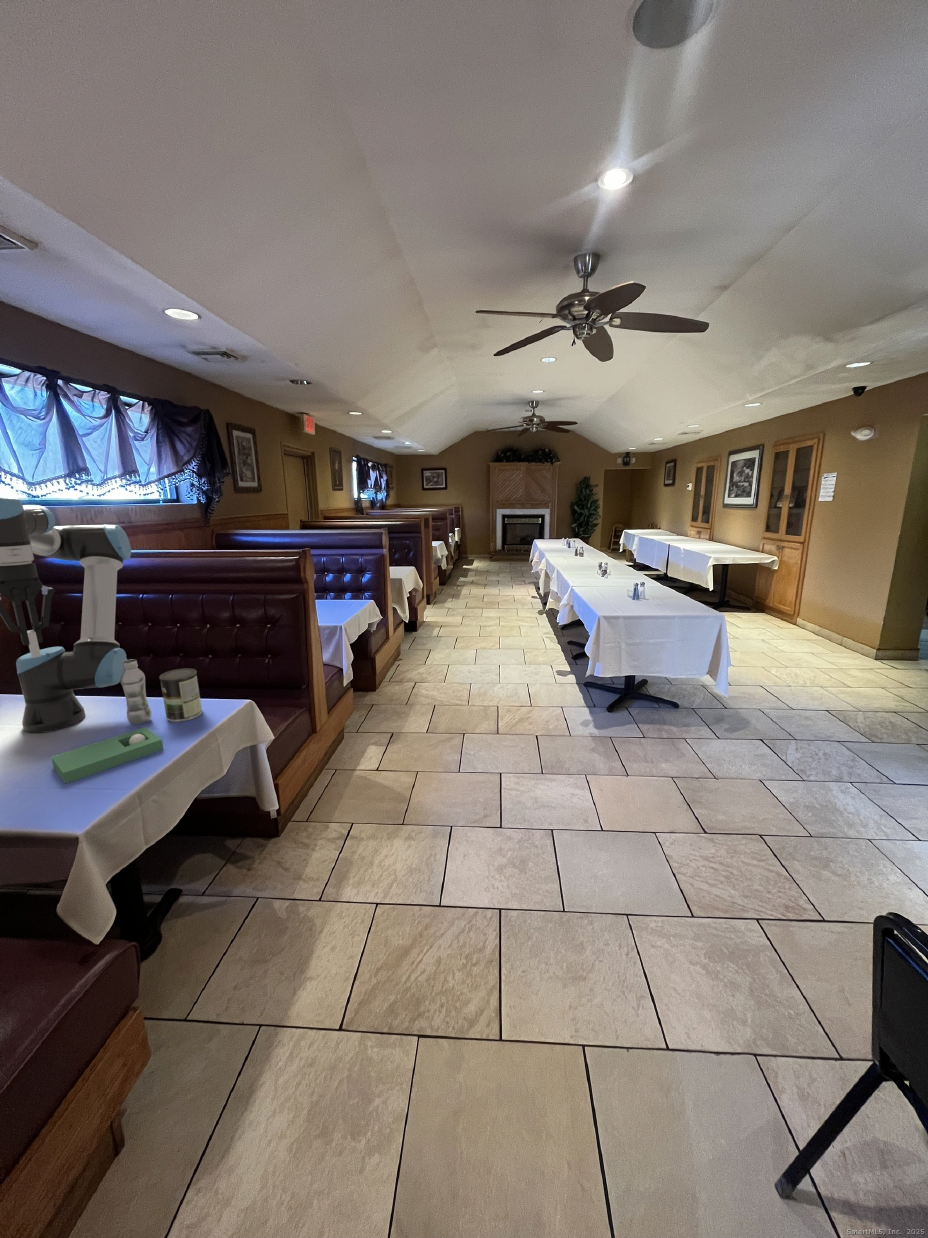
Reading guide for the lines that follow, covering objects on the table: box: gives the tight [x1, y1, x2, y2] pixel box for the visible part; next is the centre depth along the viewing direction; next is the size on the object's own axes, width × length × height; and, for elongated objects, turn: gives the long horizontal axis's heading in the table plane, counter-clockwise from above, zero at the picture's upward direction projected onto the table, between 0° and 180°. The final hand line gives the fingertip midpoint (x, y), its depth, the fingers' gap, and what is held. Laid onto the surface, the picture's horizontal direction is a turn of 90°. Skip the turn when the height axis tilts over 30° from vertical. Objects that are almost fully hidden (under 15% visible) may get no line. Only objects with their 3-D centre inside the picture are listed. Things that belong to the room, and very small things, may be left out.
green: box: [50, 726, 164, 785], centre depth 133 cm, size 12×22×3 cm, turn 140°
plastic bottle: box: [120, 659, 152, 725], centre depth 152 cm, size 6×7×20 cm
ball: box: [129, 734, 146, 745], centre depth 138 cm, size 4×4×4 cm
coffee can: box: [158, 667, 203, 723], centre depth 158 cm, size 10×10×14 cm
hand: (36, 656), depth 125 cm, fingers closed
